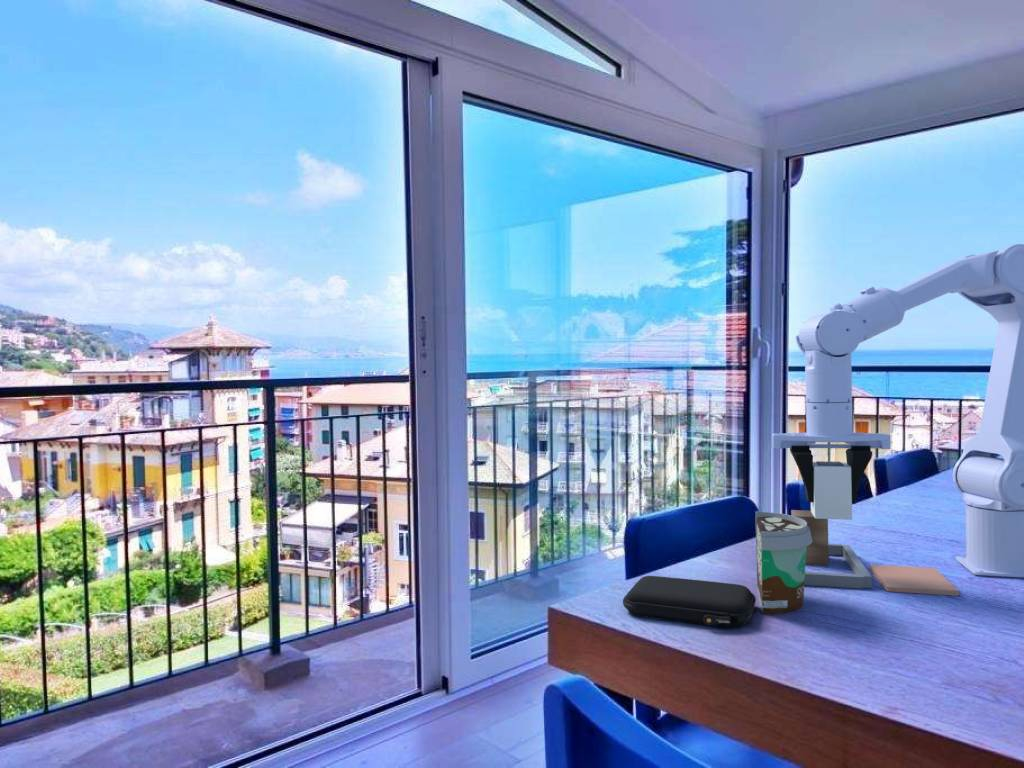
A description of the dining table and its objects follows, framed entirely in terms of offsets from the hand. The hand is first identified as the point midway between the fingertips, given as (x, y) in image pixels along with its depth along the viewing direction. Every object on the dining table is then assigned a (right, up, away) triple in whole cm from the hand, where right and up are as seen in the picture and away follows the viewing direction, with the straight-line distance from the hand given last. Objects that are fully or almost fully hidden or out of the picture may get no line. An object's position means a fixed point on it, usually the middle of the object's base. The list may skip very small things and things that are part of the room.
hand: (830, 501), depth 93 cm
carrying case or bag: (-22, -12, -11) cm, 28 cm away
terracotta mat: (+9, -10, -3) cm, 14 cm away
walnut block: (+1, -10, +8) cm, 13 cm away
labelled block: (0, -2, 0) cm, 2 cm away
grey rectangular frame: (0, -10, +5) cm, 11 cm away
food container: (-10, -11, -9) cm, 17 cm away
